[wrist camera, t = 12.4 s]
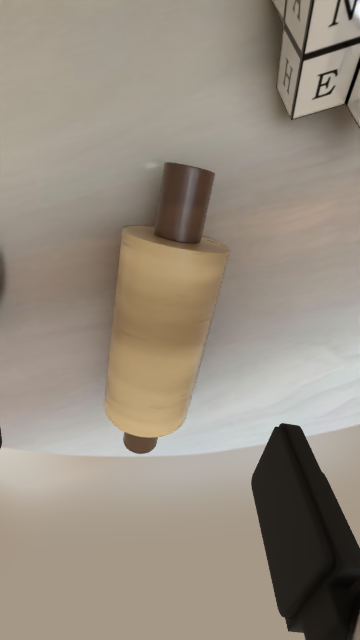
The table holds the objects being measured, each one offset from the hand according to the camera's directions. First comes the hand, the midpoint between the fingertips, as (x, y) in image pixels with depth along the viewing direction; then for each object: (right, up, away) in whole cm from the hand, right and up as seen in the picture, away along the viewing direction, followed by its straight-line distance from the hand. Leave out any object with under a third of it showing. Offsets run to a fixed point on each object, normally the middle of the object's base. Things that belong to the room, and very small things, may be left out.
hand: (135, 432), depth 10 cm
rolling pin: (+1, +4, +11) cm, 12 cm away
